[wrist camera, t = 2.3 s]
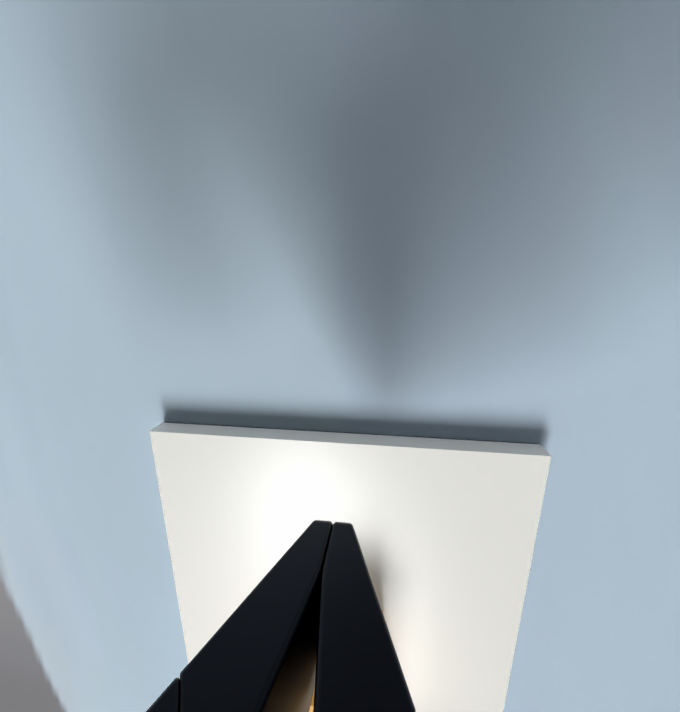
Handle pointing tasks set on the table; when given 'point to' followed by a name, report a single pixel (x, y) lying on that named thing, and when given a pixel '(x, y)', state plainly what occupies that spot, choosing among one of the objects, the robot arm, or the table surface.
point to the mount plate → (365, 537)
